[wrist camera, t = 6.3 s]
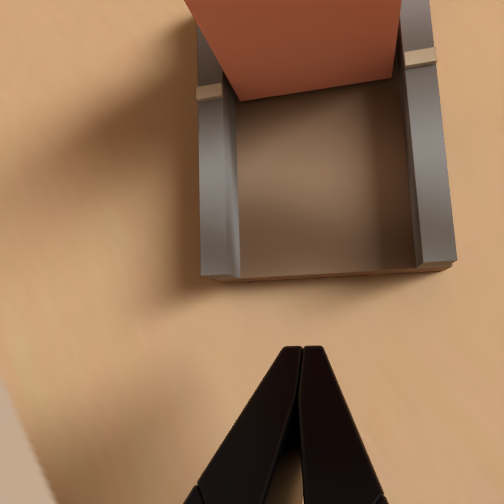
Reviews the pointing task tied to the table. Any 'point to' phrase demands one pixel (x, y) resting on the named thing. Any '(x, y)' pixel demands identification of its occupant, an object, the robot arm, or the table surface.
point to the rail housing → (326, 172)
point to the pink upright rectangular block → (299, 42)
